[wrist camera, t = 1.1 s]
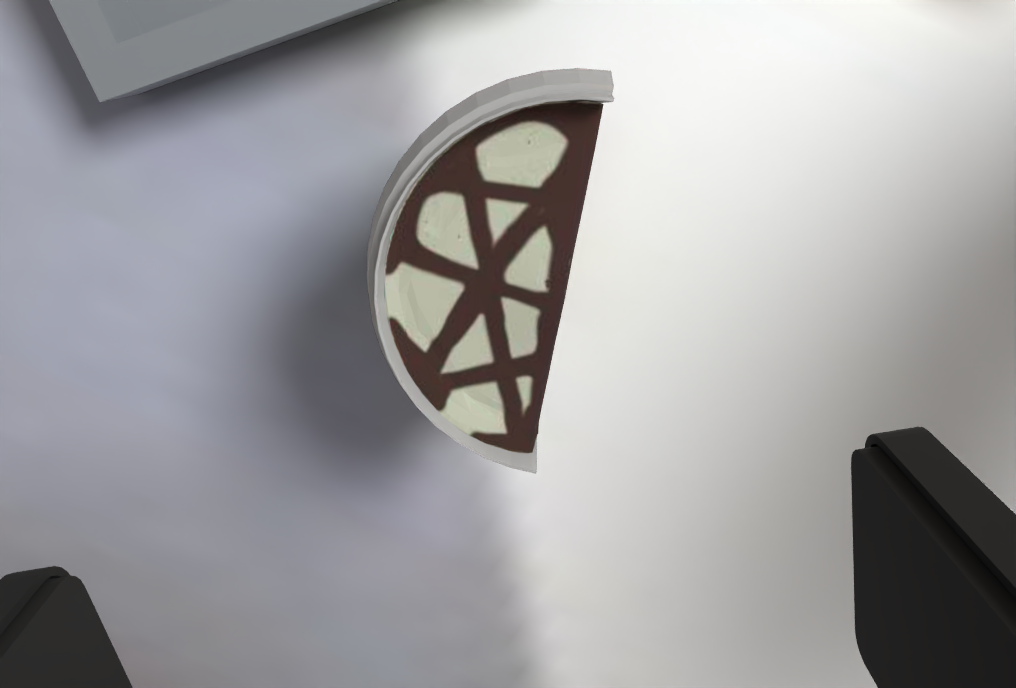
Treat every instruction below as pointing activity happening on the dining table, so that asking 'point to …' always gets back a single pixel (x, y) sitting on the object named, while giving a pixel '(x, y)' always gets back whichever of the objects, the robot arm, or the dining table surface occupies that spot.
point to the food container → (485, 255)
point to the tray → (183, 35)
